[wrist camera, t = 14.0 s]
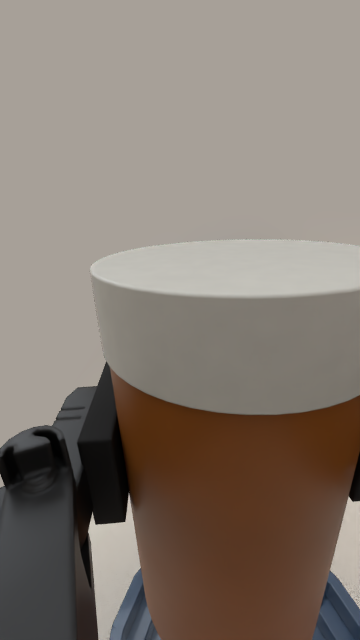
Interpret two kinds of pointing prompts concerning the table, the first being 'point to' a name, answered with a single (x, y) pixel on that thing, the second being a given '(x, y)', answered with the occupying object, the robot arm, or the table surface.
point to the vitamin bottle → (235, 425)
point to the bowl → (329, 636)
